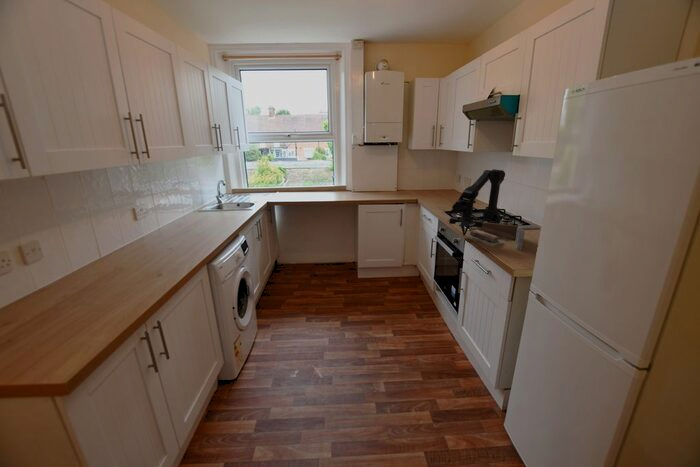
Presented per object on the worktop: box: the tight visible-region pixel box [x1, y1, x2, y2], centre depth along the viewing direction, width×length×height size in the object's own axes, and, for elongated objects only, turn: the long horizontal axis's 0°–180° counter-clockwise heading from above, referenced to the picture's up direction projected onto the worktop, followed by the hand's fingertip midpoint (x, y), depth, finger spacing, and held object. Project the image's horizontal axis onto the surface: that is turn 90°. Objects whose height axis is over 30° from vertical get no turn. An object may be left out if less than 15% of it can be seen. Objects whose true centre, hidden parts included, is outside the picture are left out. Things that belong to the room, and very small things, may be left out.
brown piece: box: [476, 221, 526, 251], centre depth 177 cm, size 21×24×10 cm
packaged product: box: [467, 228, 504, 247], centre depth 180 cm, size 18×5×10 cm
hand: (464, 235), depth 184 cm, fingers closed
